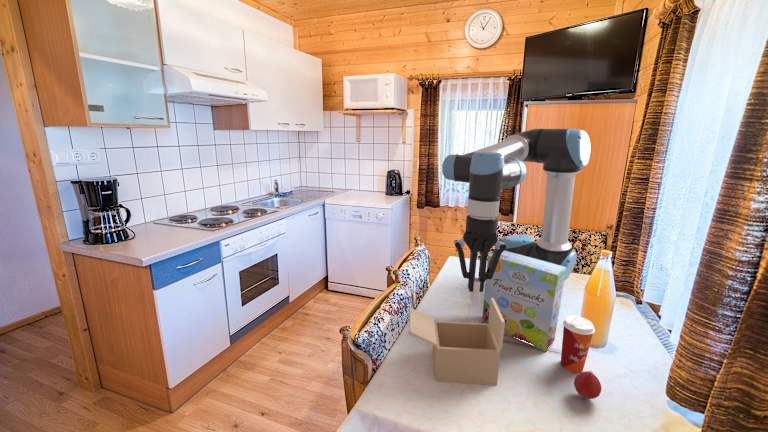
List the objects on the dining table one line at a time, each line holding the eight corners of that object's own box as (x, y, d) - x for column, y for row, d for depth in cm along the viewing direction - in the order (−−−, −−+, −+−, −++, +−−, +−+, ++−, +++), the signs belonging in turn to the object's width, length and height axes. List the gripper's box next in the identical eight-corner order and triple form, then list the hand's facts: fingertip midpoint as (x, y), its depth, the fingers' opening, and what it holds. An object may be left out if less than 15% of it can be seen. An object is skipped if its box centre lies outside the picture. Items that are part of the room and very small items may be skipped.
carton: (486, 353, 103) (489, 323, 101) (496, 385, 91) (500, 352, 88) (432, 350, 104) (433, 320, 102) (434, 381, 92) (436, 348, 89)
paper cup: (575, 379, 93) (583, 333, 89) (550, 362, 100) (557, 318, 96) (593, 370, 97) (602, 325, 93) (568, 354, 103) (575, 312, 100)
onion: (567, 389, 89) (571, 363, 87) (588, 388, 90) (593, 362, 88) (581, 407, 84) (586, 379, 82) (603, 406, 84) (609, 378, 82)
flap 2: (488, 321, 100) (491, 321, 100) (498, 348, 88) (502, 348, 88) (490, 297, 98) (493, 297, 98) (501, 321, 86) (505, 321, 86)
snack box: (479, 325, 117) (486, 254, 111) (491, 315, 124) (498, 247, 117) (546, 354, 103) (558, 274, 97) (556, 341, 109) (567, 265, 103)
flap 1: (410, 307, 101) (409, 309, 101) (410, 331, 89) (408, 334, 89) (433, 318, 101) (432, 320, 101) (436, 344, 89) (435, 346, 89)
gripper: (505, 213, 89) (496, 296, 95) (453, 211, 90) (448, 294, 96) (513, 220, 82) (503, 310, 88) (457, 218, 83) (451, 308, 89)
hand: (474, 302), depth 92 cm, fingers closed
